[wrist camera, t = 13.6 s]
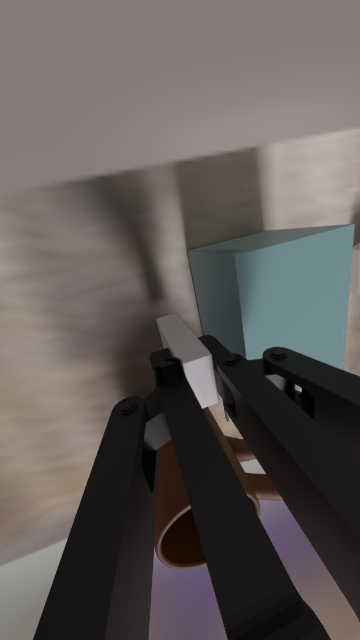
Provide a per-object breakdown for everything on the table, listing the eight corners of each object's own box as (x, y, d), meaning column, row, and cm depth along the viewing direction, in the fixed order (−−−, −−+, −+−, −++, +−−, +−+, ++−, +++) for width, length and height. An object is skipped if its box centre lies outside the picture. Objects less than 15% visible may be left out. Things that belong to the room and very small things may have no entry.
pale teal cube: (206, 352, 21) (252, 407, 14) (187, 250, 17) (234, 255, 11) (271, 330, 22) (343, 370, 15) (265, 230, 19) (354, 223, 12)
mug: (247, 374, 23) (323, 451, 15) (246, 429, 26) (310, 521, 18) (132, 404, 21) (144, 517, 12) (144, 462, 24) (161, 588, 15)
